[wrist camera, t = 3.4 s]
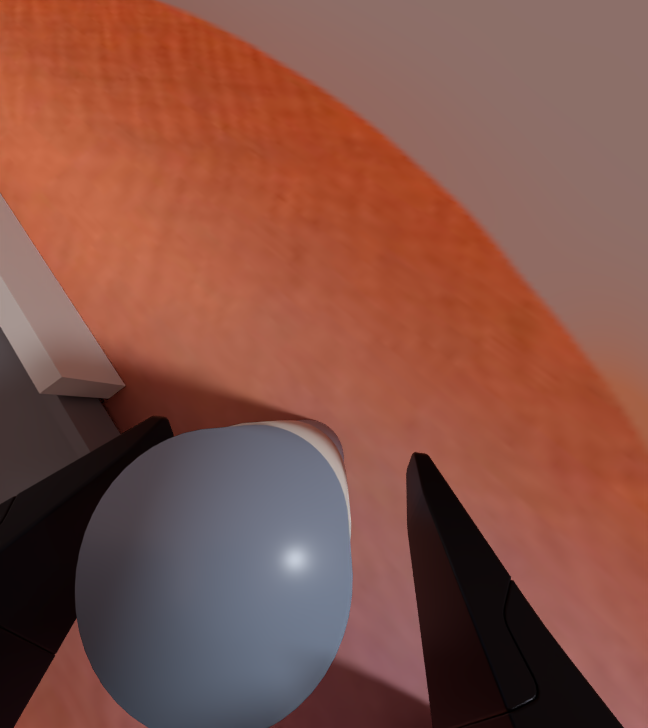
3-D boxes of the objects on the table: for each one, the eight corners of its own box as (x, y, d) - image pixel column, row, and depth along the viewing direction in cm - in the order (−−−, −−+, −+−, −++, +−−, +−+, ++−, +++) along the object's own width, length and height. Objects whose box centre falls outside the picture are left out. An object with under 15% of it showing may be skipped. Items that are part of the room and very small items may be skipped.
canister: (299, 514, 16) (169, 826, 4) (254, 450, 16) (23, 541, 4) (360, 464, 16) (418, 605, 4) (313, 403, 16) (243, 370, 5)
